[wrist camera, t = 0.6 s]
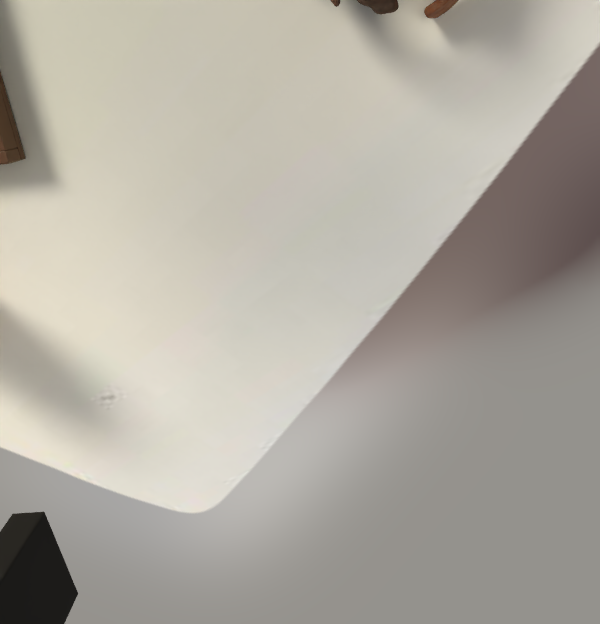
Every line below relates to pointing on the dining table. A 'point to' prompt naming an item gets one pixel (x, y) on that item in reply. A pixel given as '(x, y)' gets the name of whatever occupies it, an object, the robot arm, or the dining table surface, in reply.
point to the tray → (8, 131)
